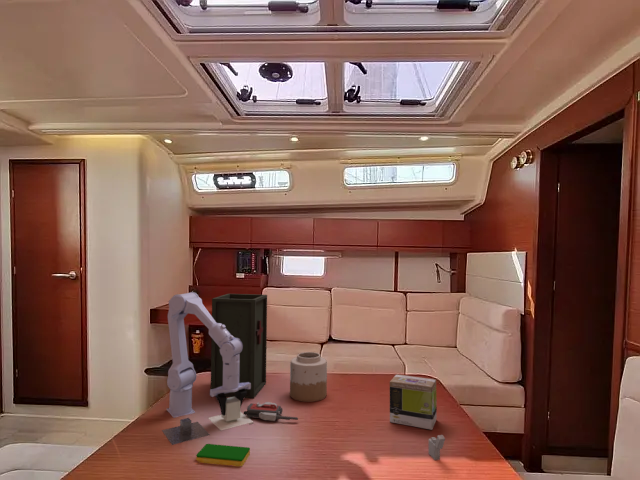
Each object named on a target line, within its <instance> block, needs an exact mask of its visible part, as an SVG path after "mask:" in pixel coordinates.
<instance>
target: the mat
mask: <svg viewBox="0 0 640 480" xmlns="http://www.w3.org/2000/svg"><path fill="white" fill-rule="evenodd" d="M208 420H209V421H210V422H211V423H212V424H213V425H214V426H215V427H216V428H217V429H218V430H219V431H221V432H222V431H224V430H229V429H231V428H237V427H240V426H244V425H252V424H254V423H255V422H254V421H253V420H252V419H251V418H250V417H248V416H247V415H245V414H244V412H242V411H241V410H240V418H239V419H235V420H231V421H226V420H225V419H223V418H222V417H221V414H220V415H219V414H218V415H214V416H210V417H208Z"/></svg>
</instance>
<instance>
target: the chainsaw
mask: <svg viewBox="0 0 640 480" xmlns="http://www.w3.org/2000/svg"><path fill="white" fill-rule="evenodd" d="M282 413H283V408H282V407H281V405H278V403H276V402H271V401H266V402H263V403H260V402H259V401H258V402H257V403H250V404H249V405H248V406H247V408H246V410H245V411H243V414H244V415H246V416H247V417H248V418H255V419H256V418H257V419H261V420H264V421H272V422H275V421H276V420H286V421H291V420H295V421H299V418H298V417H295V416H284V415H282Z"/></svg>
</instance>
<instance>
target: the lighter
mask: <svg viewBox="0 0 640 480" xmlns="http://www.w3.org/2000/svg"><path fill="white" fill-rule="evenodd" d="M445 441H446V438H445V436H444V435H443V434H438V435H437V437H434V436H432V437H430V438H428V455H430V457H431V458H432V459H433V460H434V461H439V460H440V459H441V450H442V449H443V447H444V444H445Z"/></svg>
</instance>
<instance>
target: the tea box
mask: <svg viewBox="0 0 640 480" xmlns="http://www.w3.org/2000/svg"><path fill="white" fill-rule="evenodd" d="M437 407H438V406H437V379H435V378H429V377H428V378H427V377H421V376H412V375H404V374H395V375H394V376H393V378H392V379H391V380H390V381H389V422H390V423H393V424H399V425H404V426H409V427H416V428H419V429H420V428H421V429H426V430H432V431H433V430H434V429H433V428H434V426H435V424H436V421H437V419H438V418H437V414H438V413H437V411H438V410H437V409H438V408H437Z"/></svg>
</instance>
